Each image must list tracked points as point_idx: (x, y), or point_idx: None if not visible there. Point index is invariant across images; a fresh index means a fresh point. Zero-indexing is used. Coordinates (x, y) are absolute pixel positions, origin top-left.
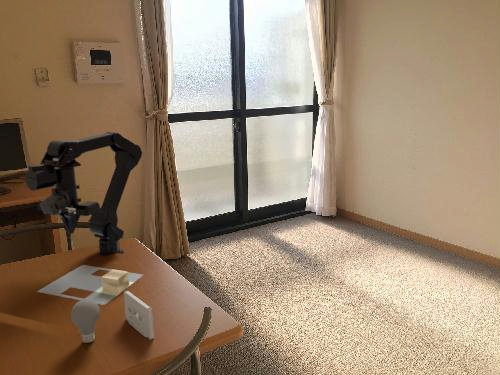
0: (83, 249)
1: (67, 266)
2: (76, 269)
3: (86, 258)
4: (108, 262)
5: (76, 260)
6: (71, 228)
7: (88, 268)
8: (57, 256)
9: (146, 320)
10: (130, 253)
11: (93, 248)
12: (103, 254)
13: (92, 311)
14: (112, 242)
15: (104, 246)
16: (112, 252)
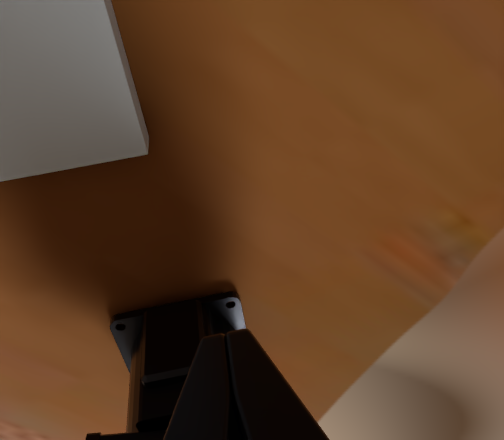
0: (400, 309)
1: (302, 109)
2: (104, 64)
3: (282, 250)
4: (95, 282)
5: (320, 202)
6: (166, 433)
7: (33, 129)
8: (493, 179)
9: None
10: (99, 399)
11: (353, 341)
12: (166, 319)
13: None
14: (128, 427)
15: (150, 373)
16: (135, 358)
